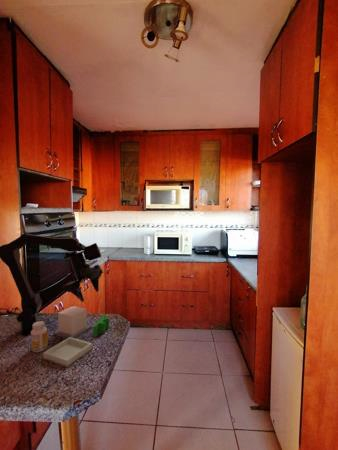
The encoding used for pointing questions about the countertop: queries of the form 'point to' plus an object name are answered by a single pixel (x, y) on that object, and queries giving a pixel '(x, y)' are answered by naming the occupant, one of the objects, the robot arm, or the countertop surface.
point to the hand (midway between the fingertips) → (90, 296)
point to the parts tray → (67, 351)
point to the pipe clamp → (101, 326)
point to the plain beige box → (72, 322)
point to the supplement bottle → (39, 337)
